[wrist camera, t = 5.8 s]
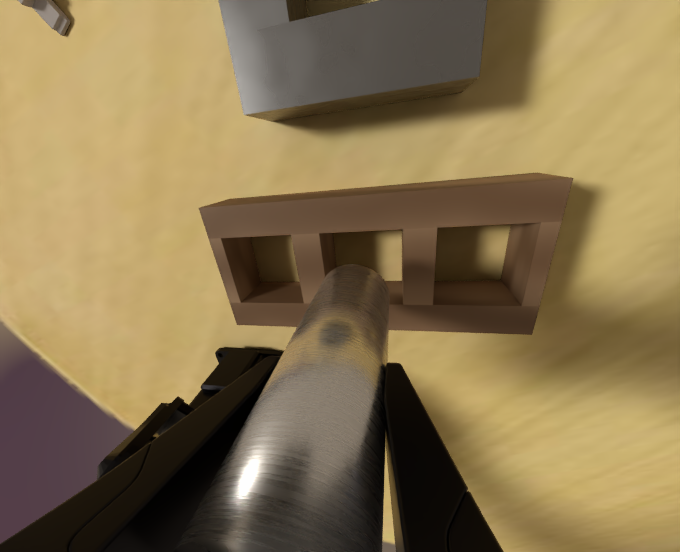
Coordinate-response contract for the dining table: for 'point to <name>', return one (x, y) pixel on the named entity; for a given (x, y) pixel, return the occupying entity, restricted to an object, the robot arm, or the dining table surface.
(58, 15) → the caliper
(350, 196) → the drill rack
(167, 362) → the dining table surface
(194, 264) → the dining table surface
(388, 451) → the robot arm
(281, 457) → the metal peg
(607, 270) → the dining table surface
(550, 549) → the dining table surface
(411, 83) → the socket block
